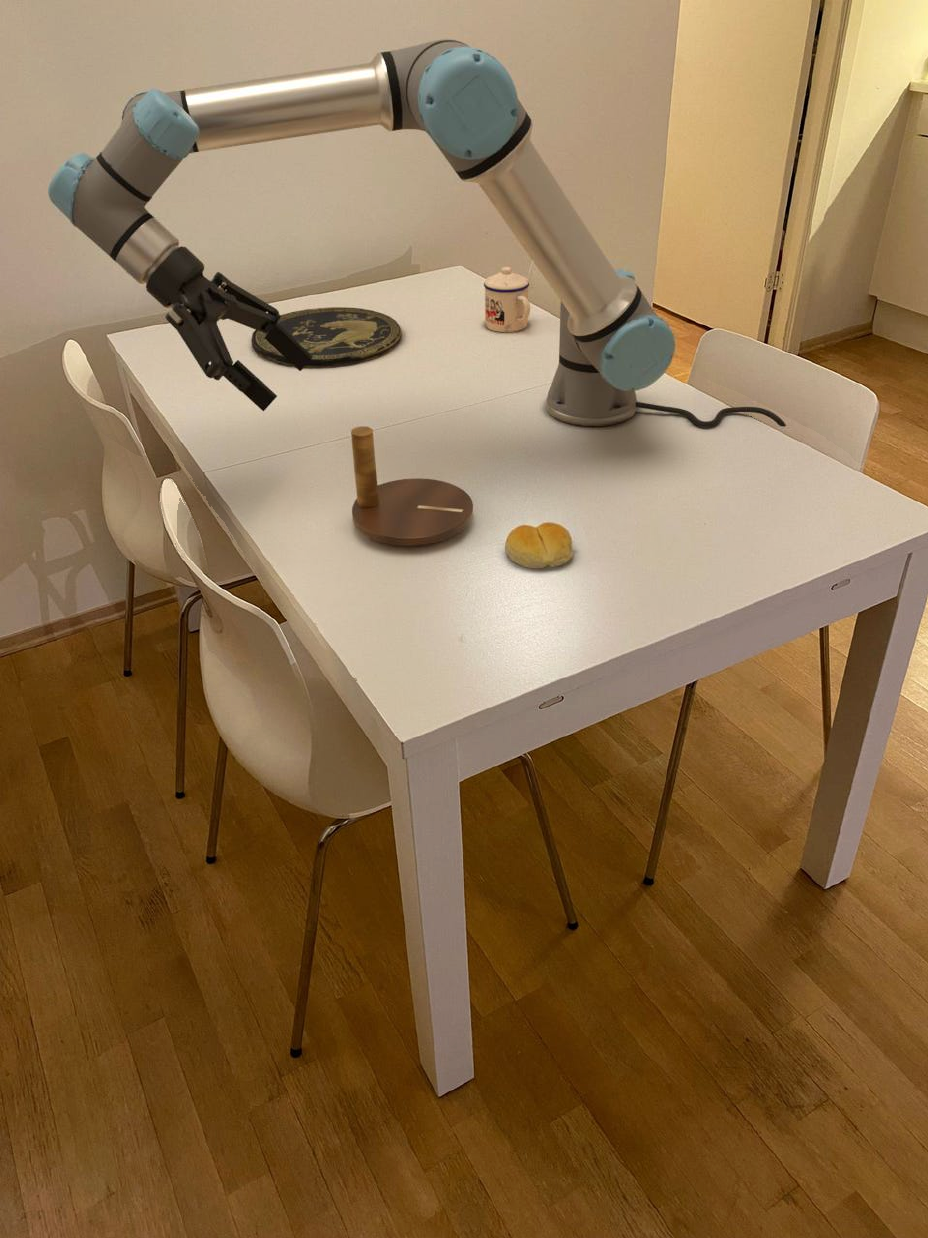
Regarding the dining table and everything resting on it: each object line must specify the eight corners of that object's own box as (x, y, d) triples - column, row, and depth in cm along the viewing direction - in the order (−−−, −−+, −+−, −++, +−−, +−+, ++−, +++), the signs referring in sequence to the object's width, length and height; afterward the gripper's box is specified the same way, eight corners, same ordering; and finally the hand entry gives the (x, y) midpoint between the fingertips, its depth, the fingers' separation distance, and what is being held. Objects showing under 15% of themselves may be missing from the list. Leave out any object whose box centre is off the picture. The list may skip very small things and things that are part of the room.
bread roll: (501, 541, 138) (501, 516, 135) (565, 536, 138) (566, 510, 136) (510, 574, 131) (510, 547, 129) (578, 568, 132) (579, 542, 129)
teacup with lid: (475, 323, 208) (474, 266, 201) (511, 314, 212) (511, 258, 205) (509, 340, 200) (510, 281, 193) (546, 330, 204) (547, 272, 197)
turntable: (484, 490, 147) (483, 412, 140) (458, 551, 133) (455, 468, 126) (372, 480, 150) (366, 404, 143) (336, 539, 137) (327, 457, 130)
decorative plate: (227, 354, 192) (280, 302, 216) (228, 363, 193) (281, 311, 217) (379, 364, 187) (416, 309, 211) (379, 373, 188) (417, 318, 212)
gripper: (189, 257, 140) (305, 366, 146) (99, 318, 121) (237, 440, 126) (218, 218, 136) (335, 332, 142) (129, 274, 117) (270, 403, 122)
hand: (289, 383), depth 134 cm, fingers open, 13 cm apart
